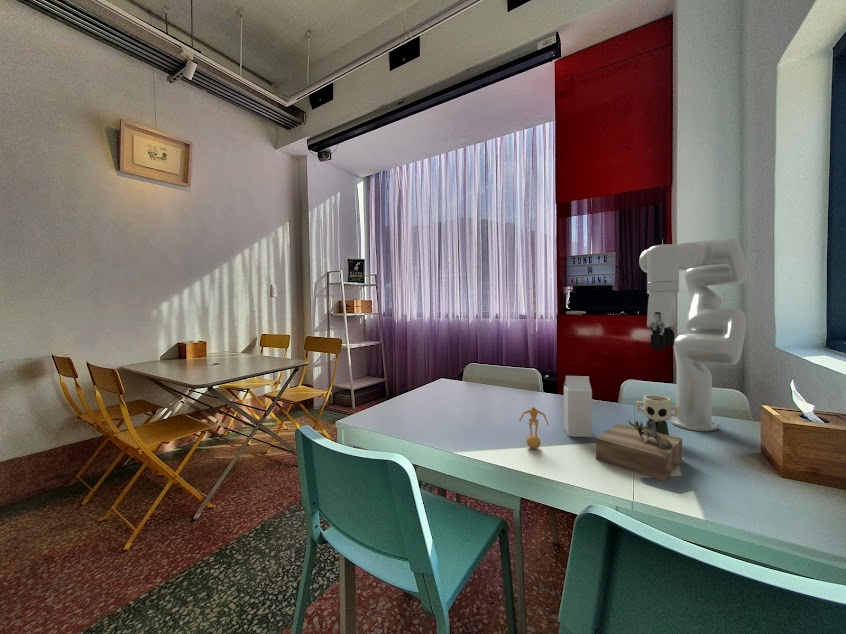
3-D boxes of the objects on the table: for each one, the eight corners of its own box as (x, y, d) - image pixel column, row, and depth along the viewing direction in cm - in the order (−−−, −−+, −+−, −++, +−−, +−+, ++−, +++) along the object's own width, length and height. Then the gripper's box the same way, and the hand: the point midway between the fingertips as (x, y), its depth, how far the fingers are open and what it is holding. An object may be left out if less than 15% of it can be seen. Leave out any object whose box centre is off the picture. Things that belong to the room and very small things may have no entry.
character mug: (635, 438, 108) (635, 397, 107) (637, 431, 113) (637, 392, 113) (678, 446, 101) (678, 403, 101) (678, 438, 107) (678, 397, 106)
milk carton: (592, 438, 109) (592, 378, 108) (568, 436, 110) (568, 378, 110) (586, 429, 116) (586, 374, 115) (563, 428, 117) (563, 373, 117)
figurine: (518, 449, 102) (518, 409, 101) (520, 441, 107) (519, 403, 107) (548, 453, 99) (548, 412, 98) (548, 444, 104) (548, 406, 104)
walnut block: (617, 442, 105) (618, 423, 104) (682, 460, 93) (682, 438, 92) (595, 459, 94) (595, 438, 94) (664, 481, 82) (665, 457, 82)
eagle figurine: (622, 434, 93) (652, 440, 84) (631, 410, 95) (660, 414, 86) (644, 447, 94) (675, 455, 85) (652, 423, 96) (683, 428, 87)
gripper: (656, 288, 107) (656, 342, 108) (637, 289, 96) (638, 349, 97) (686, 287, 102) (686, 344, 103) (669, 287, 90) (669, 352, 91)
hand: (662, 347), depth 100 cm, fingers open, 9 cm apart
